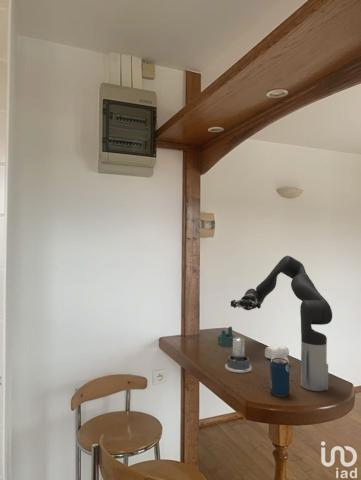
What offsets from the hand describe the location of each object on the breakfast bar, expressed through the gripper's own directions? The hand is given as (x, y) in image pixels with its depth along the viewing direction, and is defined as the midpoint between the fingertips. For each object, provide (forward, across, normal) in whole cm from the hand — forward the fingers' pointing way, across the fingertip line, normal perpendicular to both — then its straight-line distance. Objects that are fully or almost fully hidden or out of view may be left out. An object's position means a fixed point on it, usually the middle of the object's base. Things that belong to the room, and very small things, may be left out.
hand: (243, 306), depth 166 cm
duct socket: (+11, 0, +26) cm, 28 cm away
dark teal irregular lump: (-24, -13, +26) cm, 37 cm away
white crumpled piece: (-6, +15, +26) cm, 31 cm away
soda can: (+31, +19, +26) cm, 45 cm away
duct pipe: (+11, 0, +25) cm, 27 cm away
